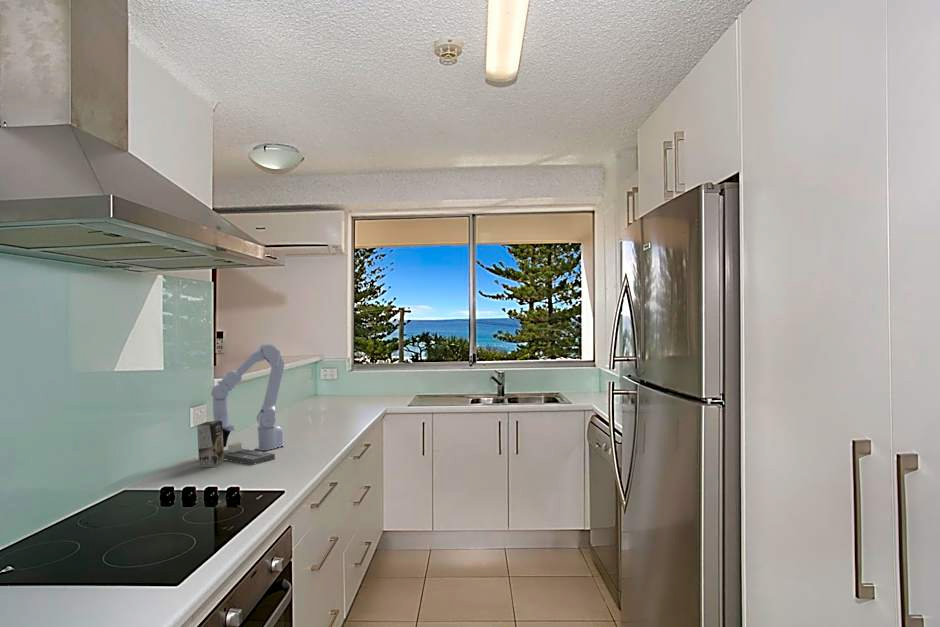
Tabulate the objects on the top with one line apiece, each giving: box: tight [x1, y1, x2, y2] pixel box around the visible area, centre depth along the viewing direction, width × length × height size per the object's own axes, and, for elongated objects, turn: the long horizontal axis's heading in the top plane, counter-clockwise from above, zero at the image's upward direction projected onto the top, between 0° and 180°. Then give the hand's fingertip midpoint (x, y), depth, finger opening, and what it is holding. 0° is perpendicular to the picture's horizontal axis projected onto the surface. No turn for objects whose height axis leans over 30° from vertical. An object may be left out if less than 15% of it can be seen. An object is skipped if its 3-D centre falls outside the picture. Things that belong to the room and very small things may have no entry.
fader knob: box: [227, 442, 243, 453], centre depth 261 cm, size 4×3×3 cm
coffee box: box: [196, 420, 225, 468], centre depth 250 cm, size 9×6×16 cm
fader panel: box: [224, 448, 276, 465], centre depth 257 cm, size 10×26×2 cm, turn 53°
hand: (222, 447), depth 266 cm, fingers closed
